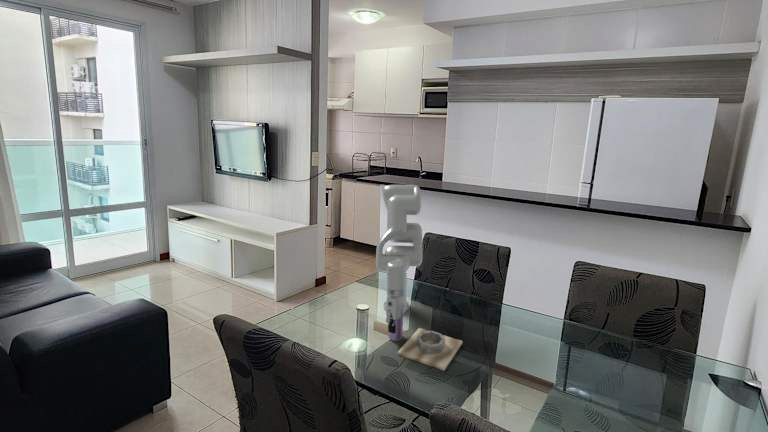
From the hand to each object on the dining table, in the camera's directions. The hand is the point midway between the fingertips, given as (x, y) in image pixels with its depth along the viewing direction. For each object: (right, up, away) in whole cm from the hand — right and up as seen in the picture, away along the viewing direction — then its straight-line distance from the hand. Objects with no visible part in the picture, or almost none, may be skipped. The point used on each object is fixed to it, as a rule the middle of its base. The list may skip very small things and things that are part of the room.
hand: (395, 328), depth 176 cm
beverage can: (0, -5, +1) cm, 5 cm away
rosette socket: (+14, -7, -6) cm, 17 cm away
